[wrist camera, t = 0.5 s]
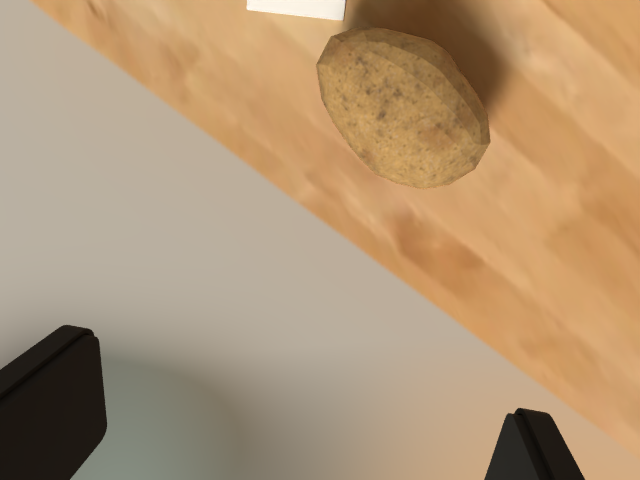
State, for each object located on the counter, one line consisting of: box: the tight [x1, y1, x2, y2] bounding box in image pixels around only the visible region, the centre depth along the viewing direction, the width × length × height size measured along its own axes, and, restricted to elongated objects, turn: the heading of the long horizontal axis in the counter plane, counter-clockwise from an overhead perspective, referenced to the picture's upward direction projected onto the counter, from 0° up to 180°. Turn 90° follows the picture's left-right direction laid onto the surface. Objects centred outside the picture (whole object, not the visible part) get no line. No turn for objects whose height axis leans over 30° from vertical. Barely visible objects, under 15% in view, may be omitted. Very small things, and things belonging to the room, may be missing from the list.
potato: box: [316, 27, 490, 189], centre depth 31 cm, size 10×14×8 cm
